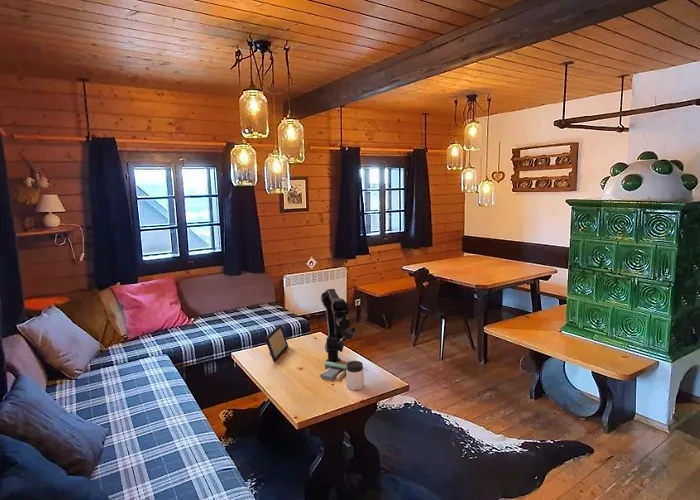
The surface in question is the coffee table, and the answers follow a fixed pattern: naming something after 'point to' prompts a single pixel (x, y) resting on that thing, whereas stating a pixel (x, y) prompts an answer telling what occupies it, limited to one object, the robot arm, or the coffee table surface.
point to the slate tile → (331, 373)
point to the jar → (355, 375)
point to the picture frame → (276, 343)
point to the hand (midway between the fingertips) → (341, 351)
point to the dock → (332, 364)
